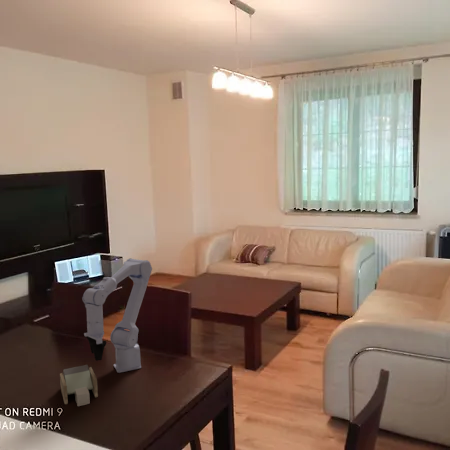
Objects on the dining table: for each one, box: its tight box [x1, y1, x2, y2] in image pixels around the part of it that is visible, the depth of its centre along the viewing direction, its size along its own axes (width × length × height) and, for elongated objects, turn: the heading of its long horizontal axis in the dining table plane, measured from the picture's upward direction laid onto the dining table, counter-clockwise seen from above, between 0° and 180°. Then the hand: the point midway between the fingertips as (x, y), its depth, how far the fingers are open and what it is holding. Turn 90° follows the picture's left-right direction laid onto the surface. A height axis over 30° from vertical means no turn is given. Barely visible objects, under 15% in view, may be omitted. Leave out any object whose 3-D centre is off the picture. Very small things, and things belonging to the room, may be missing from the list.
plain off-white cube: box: [74, 387, 91, 407], centre depth 159 cm, size 4×4×5 cm
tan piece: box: [59, 366, 99, 405], centre depth 164 cm, size 11×11×6 cm
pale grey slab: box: [62, 364, 93, 396], centre depth 165 cm, size 8×10×3 cm
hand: (96, 356), depth 171 cm, fingers open, 7 cm apart
